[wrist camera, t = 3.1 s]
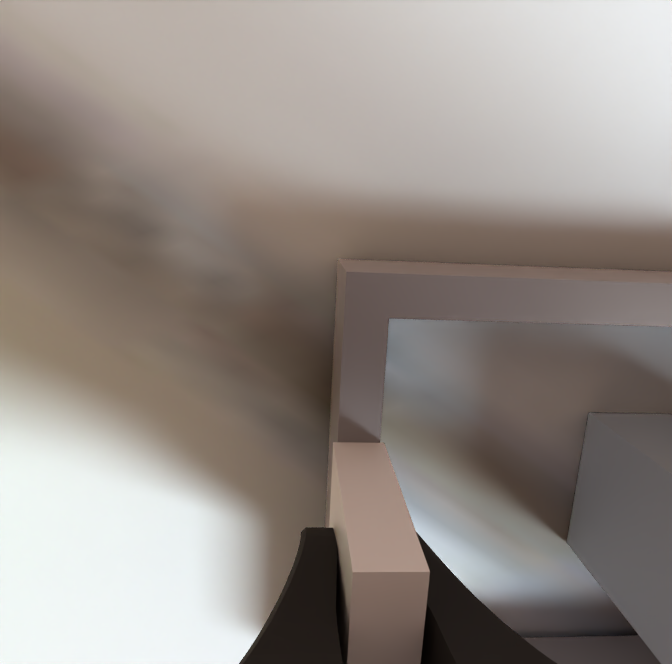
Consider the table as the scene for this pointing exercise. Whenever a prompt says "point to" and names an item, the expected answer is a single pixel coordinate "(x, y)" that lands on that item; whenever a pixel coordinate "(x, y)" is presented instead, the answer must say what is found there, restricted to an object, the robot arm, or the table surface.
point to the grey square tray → (372, 457)
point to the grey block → (628, 519)
